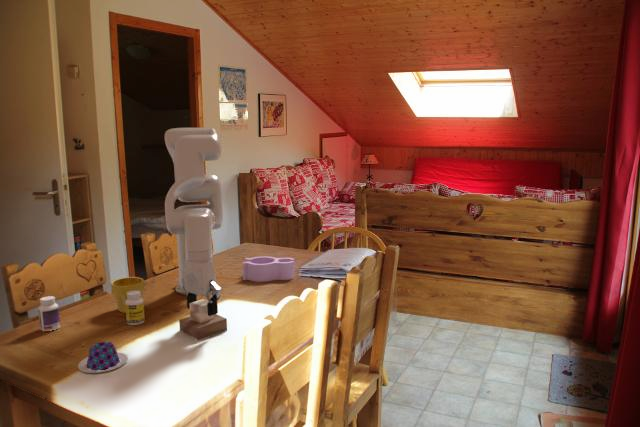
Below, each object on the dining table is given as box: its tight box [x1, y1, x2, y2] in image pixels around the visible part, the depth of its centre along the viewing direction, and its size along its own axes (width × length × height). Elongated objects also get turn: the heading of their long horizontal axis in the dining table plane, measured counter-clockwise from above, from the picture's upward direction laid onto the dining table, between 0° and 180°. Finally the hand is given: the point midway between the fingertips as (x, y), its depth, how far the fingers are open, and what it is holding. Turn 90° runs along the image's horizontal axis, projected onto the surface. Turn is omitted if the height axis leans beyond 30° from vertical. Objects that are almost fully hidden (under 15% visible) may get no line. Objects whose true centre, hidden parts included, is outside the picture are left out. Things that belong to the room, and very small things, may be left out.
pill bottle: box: [37, 295, 61, 332], centre depth 160 cm, size 5×5×10 cm
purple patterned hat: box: [77, 341, 128, 374], centre depth 137 cm, size 12×12×5 cm
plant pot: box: [110, 276, 145, 314], centre depth 176 cm, size 10×10×10 cm
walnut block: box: [178, 313, 228, 341], centre depth 158 cm, size 10×10×4 cm
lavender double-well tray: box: [242, 255, 296, 283], centre depth 211 cm, size 20×12×7 cm, turn 88°
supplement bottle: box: [125, 290, 145, 326], centre depth 165 cm, size 5×5×10 cm
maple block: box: [189, 298, 214, 323], centre depth 158 cm, size 5×5×5 cm
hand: (202, 310), depth 157 cm, fingers open, 9 cm apart
